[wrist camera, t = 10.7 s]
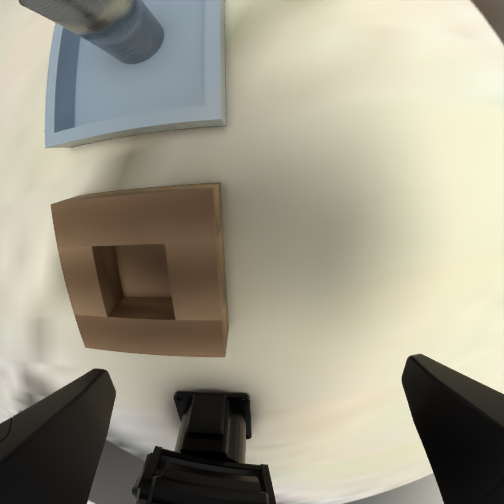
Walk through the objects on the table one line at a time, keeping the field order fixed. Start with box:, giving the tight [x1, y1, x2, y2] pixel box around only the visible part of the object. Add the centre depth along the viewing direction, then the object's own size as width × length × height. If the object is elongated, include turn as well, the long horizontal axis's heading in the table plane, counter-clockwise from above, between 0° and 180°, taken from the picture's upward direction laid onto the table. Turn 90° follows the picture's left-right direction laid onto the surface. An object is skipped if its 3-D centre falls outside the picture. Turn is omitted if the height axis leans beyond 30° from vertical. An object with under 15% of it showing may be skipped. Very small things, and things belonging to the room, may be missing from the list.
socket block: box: [51, 183, 229, 357], centre depth 17 cm, size 10×10×4 cm
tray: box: [45, 0, 227, 148], centre depth 13 cm, size 13×11×3 cm
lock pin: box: [19, 0, 164, 64], centre depth 9 cm, size 4×4×10 cm
